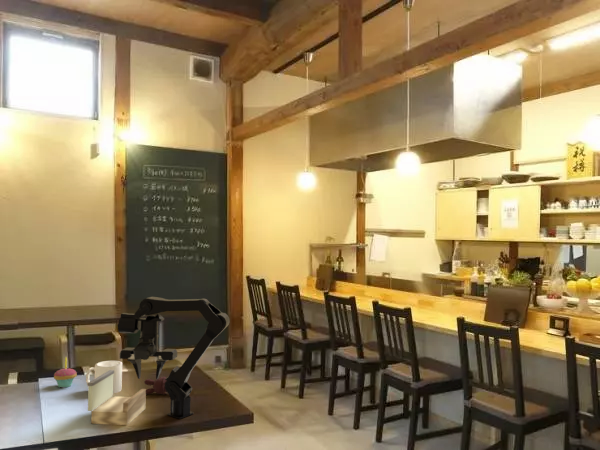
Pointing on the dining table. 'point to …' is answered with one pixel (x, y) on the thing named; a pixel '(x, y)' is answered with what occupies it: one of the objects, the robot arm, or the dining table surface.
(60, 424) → the dining table surface
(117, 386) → the mug
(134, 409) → the cream and gold block
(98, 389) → the panel
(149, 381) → the icecream
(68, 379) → the cupcake
